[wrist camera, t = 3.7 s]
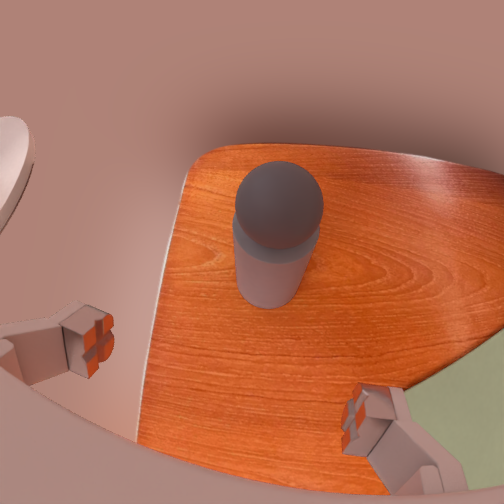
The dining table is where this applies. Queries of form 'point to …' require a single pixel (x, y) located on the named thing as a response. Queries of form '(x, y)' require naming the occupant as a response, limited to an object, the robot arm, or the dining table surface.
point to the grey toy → (275, 231)
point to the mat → (467, 411)
